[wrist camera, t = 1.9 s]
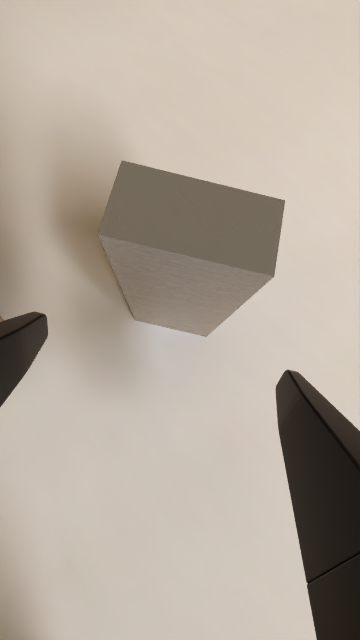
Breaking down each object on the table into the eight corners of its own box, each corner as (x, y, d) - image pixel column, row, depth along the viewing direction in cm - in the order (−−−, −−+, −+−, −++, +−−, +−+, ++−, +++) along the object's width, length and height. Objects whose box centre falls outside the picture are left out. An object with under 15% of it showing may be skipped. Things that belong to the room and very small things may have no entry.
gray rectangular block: (206, 336, 21) (274, 276, 9) (135, 320, 21) (97, 234, 8) (213, 302, 22) (284, 200, 9) (144, 286, 22) (121, 160, 9)
